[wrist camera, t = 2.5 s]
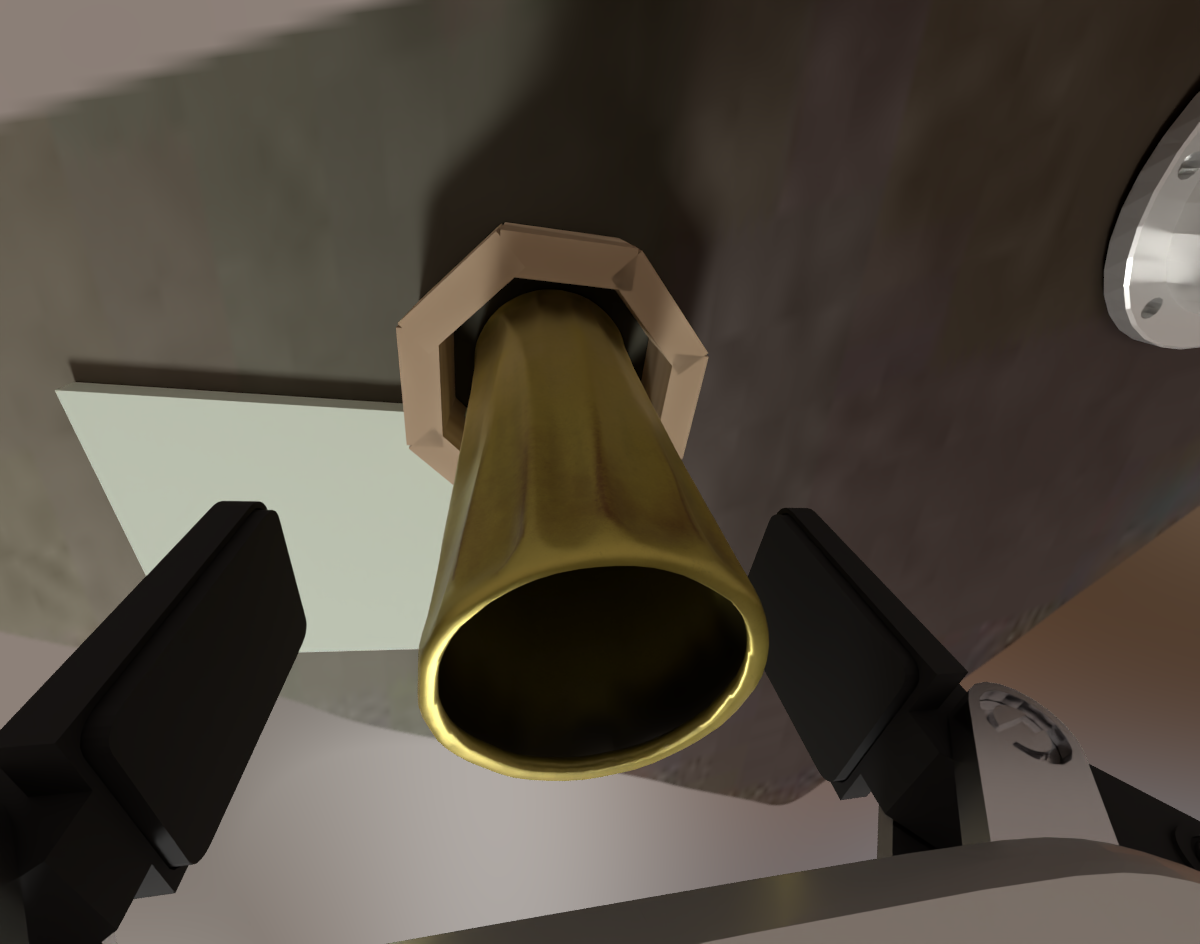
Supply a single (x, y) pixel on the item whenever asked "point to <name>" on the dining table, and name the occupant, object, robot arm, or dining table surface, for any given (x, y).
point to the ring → (548, 258)
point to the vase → (578, 566)
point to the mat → (280, 494)
